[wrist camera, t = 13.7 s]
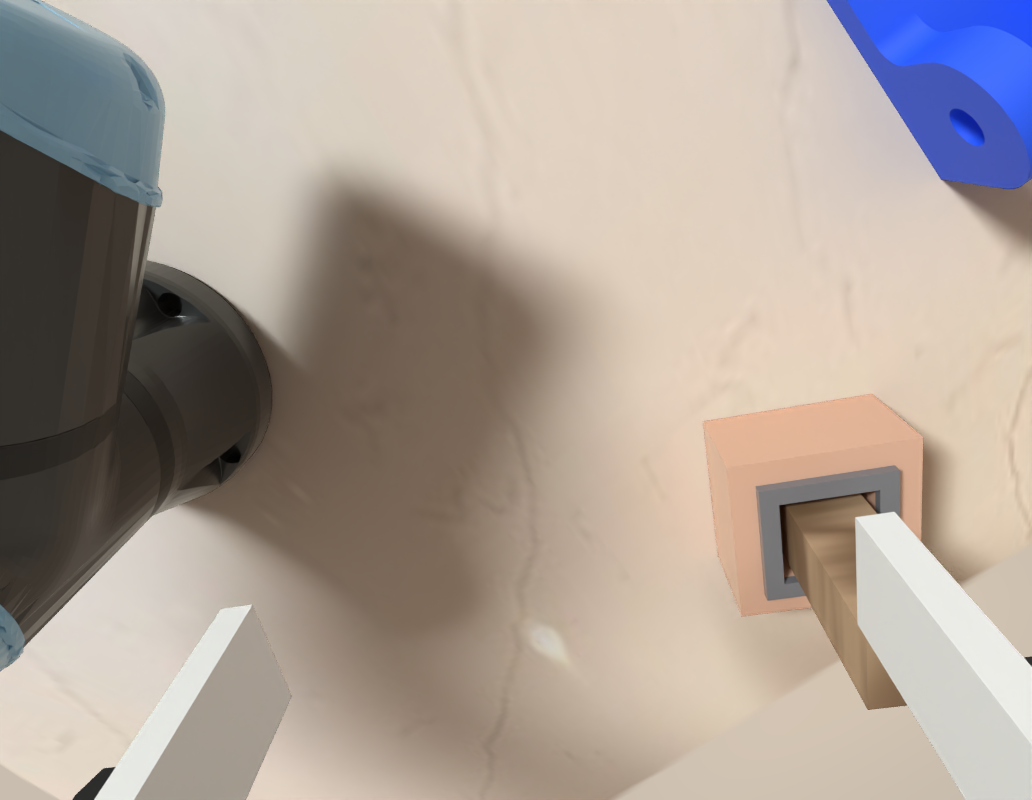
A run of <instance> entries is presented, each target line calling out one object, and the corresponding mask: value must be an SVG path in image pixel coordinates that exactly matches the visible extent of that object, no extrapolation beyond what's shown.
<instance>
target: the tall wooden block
mask: <svg viewBox="0 0 1032 800" xmlns="http://www.w3.org/2000/svg"><path fill="white" fill-rule="evenodd" d="M779 511H780V526H781V540H782V553H783V555H784V557H785V558H786V560H787V562H788V564H789V566H790V568H791V569H792V571H793V573H794V575H795V577H796V579H797V580H798V582H799V584H800V586H801V588H802V590H803V592H804V593H805V595H806V597H807V599H808V601H809V603H810V604H811V606H812V608H813V610H814V612H815V614H816V615H817V617H818V619H819V621H820V623H821V625H822V626H823V628H824V630H825V632H826V634H827V636H828V638H829V639H830V641H831V643H832V645H833V647H834V649H835V650H836V652H837V654H838V656H839V658H840V660H841V661H842V663H843V665H844V667H845V669H846V671H847V672H848V674H849V676H850V678H851V680H852V682H853V683H854V685H855V687H856V689H857V691H858V693H859V694H860V696H861V698H862V700H863V702H864V703H865V706H866V707H867V709H868V710H870V709H879V708H888V707H897V706H906V705H907V704H906V702H905V701H904V699H903V697H902V696H901V694H900V692H899V691H898V689H897V688H896V686H895V684H894V683H893V681H892V679H891V678H890V676H889V675H888V673H887V671H886V670H885V668H884V666H883V665H882V663H881V662H880V660H879V658H878V657H877V655H876V653H875V652H874V650H873V649H872V647H871V645H870V644H869V642H868V640H867V639H866V637H865V636H864V634H863V632H862V631H861V629H860V627H859V626H858V624H857V578H856V532H855V517H861V516H868V515H875V514H877V513H876V512H875V511H874V509H873V508H872V507H871V506H870V505H869V503H868V502H867V501H866V500H865V499H864V497H863V496H862V495H861V494H860V493H858V494H851V495H845V496H838V497H831V498H824V499H818V500H811V501H804V502H797V503H791V504H784V505H779Z"/></svg>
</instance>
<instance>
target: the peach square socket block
mask: <svg viewBox="0 0 1032 800" xmlns="http://www.w3.org/2000/svg"><path fill="white" fill-rule="evenodd" d="M703 426H704V435H705V444H706V453H707V462H708V471H709V480H710V489H711V498H712V507H713V516H714V525H715V534H716V543H717V552H718V557H719V560H720V563H721V565H722V568H723V570H724V573H725V575H726V578H727V580H728V583H729V586H730V588H731V591H732V593H733V596H734V598H735V601H736V603H737V606H738V609H739V611H740V614H741V616H742V617H743V616H750V615H758V614H766V613H773V612H781V611H789V610H796V609H804V608H811V607H812V606H811V604H810V603H809V601H808V599H807V597H806V595H805V593H804V592H803V590H802V588H801V586H800V584H799V582H798V580H797V579H796V577H795V575H794V573H793V571H792V569H791V568H790V566H789V564H788V562H787V560H786V558H785V557H784V555H783V553H782V540H781V526H780V511H779V505H784V504H791V503H797V502H804V501H811V500H818V499H824V498H831V497H838V496H845V495H851V494H858V493H860V494H861V495H862V496H863V497H864V499H865V500H866V501H867V502H868V503H869V505H870V506H871V507H872V508H873V509H874V511H875V512H876V513H877V514H882V513H889V512H895V513H896V514H897V515H898V516H899V517H900V519H901V520H902V521H903V522H904V523H905V524H906V525H907V526H908V528H909V529H910V530H911V531H912V532H913V533H914V534H915V536H916V537H917V538H918V539H919V540H920V541H921V521H922V471H923V437H922V436H921V435H920V434H919V433H918V432H916V431H915V430H914V429H913V428H912V427H911V426H909V425H908V424H907V423H906V422H905V421H903V420H902V419H901V418H900V417H899V416H897V415H896V414H895V413H894V412H893V411H892V410H890V409H889V408H888V407H887V406H886V405H884V404H883V403H882V402H881V401H880V400H879V399H877V398H876V397H875V396H874V395H873V394H869V395H863V396H857V397H851V398H845V399H839V400H833V401H826V402H820V403H814V404H808V405H802V406H796V407H790V408H784V409H778V410H772V411H765V412H759V413H753V414H747V415H741V416H735V417H729V418H723V419H717V420H711V421H704V422H703Z"/></svg>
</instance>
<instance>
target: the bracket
mask: <svg viewBox="0 0 1032 800" xmlns="http://www.w3.org/2000/svg"><path fill="white" fill-rule="evenodd" d="M827 2H828V3H829V5H830V6H831V8H832V9H833V11H834V13H835V14H836V16H837V17H838V19H839V20H840V22H841V24H842V25H843V27H844V28H845V30H846V31H847V33H848V34H849V36H850V38H851V39H852V41H853V42H854V44H855V45H856V47H857V49H858V50H859V52H860V53H861V55H862V56H863V58H864V60H865V61H866V63H867V64H868V66H869V67H870V69H871V71H872V72H873V74H874V75H875V77H876V78H877V80H878V81H879V83H880V85H881V86H882V88H883V89H884V91H885V92H886V94H887V96H888V97H889V99H890V100H891V102H892V103H893V105H894V107H895V108H896V110H897V111H898V113H899V114H900V116H901V117H902V119H903V121H904V122H905V124H906V125H907V127H908V128H909V130H910V132H911V133H912V135H913V136H914V138H915V139H916V141H917V143H918V144H919V146H920V147H921V149H922V150H923V152H924V153H925V155H926V157H927V158H928V160H929V161H930V163H931V164H932V166H933V168H934V169H935V171H936V172H937V174H938V175H939V177H940V179H942V180H949V181H955V182H962V183H969V184H976V185H983V186H989V187H996V188H1003V189H1015V188H1018V187H1020V186H1022V185H1023V184H1025V183H1026V182H1028V181H1029V180H1030V179H1032V0H827Z"/></svg>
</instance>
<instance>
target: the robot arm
mask: <svg viewBox="0 0 1032 800" xmlns="http://www.w3.org/2000/svg"><path fill="white" fill-rule="evenodd" d="M164 121H165V102H164V97H163V94H162V91H161V88H160V85H159V83H158V81H157V79H156V77H155V76H154V74H153V73H152V71H151V70H150V68H149V67H148V66H147V64H146V63H145V62H144V61H143V60H142V59H141V58H140V57H139V56H138V55H137V54H135V53H134V52H133V51H132V50H130V49H129V48H128V47H127V46H125V45H124V44H122V43H121V42H119V41H117V40H116V39H114V38H112V37H111V36H109V35H107V34H105V33H103V32H102V31H100V30H98V29H96V28H94V27H92V26H90V25H88V24H87V23H85V22H83V21H81V20H79V19H77V18H75V17H73V16H71V15H69V14H67V13H65V12H63V11H61V10H59V9H57V8H55V7H53V6H51V5H49V4H47V3H45V2H43V1H41V0H0V671H1V670H3V669H4V668H6V667H8V666H9V665H10V664H12V663H13V662H14V661H15V660H16V659H18V658H19V657H20V655H21V654H22V653H23V648H24V647H25V646H26V644H27V643H28V642H29V641H30V640H31V639H32V638H33V637H34V636H35V635H36V634H37V633H38V632H39V631H40V630H41V629H42V628H43V627H44V626H45V625H46V624H47V623H48V622H49V621H50V620H51V619H52V618H53V617H54V616H55V615H56V614H57V613H58V612H59V611H60V610H61V609H62V608H63V607H64V606H65V605H66V604H67V603H68V602H69V600H70V599H71V598H72V597H73V596H74V595H75V594H76V593H77V592H78V591H79V590H80V589H81V588H82V587H83V586H84V585H85V584H86V583H87V582H88V581H89V580H90V579H91V578H92V577H93V576H94V575H95V574H96V573H97V572H98V571H99V570H100V569H101V568H102V567H103V566H104V565H105V564H106V563H107V562H108V561H109V560H110V559H111V558H112V556H113V555H114V554H115V553H116V552H117V551H118V550H119V549H120V548H121V547H122V546H123V545H124V544H125V543H126V542H127V541H128V540H129V539H130V538H131V537H132V536H133V535H134V534H135V533H136V532H137V531H138V530H139V529H140V528H141V527H142V526H143V525H144V523H145V522H146V521H148V520H149V519H150V518H151V517H152V516H153V515H155V514H158V513H160V512H163V511H165V510H168V509H170V508H173V507H175V506H178V505H180V504H183V503H185V502H188V501H191V500H193V499H196V498H198V497H201V496H203V495H205V494H207V493H209V492H211V491H213V490H215V489H216V488H218V487H219V486H221V485H222V484H224V483H225V482H227V481H228V480H229V479H230V478H231V477H232V476H233V475H235V474H236V473H237V472H238V470H239V469H240V468H241V467H242V466H243V465H244V464H245V463H246V461H247V460H248V459H249V458H250V457H251V456H252V454H253V453H254V452H255V451H256V449H257V448H258V446H259V444H260V443H261V441H262V439H263V437H264V435H265V432H266V429H267V427H268V423H269V419H270V414H271V405H272V391H271V382H270V376H269V372H268V368H267V365H266V361H265V359H264V356H263V354H262V351H261V349H260V347H259V345H258V343H257V341H256V339H255V337H254V336H253V334H252V332H251V331H250V329H249V328H248V326H247V325H246V323H245V322H244V321H243V319H242V318H241V317H240V316H239V315H238V313H237V312H236V311H235V310H234V309H233V308H232V307H231V306H230V305H229V304H228V303H227V302H226V301H225V300H224V299H223V298H222V297H221V296H219V295H218V294H217V293H216V292H214V291H213V290H212V289H211V288H209V287H208V286H206V285H205V284H203V283H202V282H200V281H198V280H197V279H195V278H193V277H191V276H190V275H188V274H186V273H184V272H181V271H179V270H177V269H174V268H172V267H169V266H166V265H163V264H159V263H156V262H151V261H147V255H148V250H149V244H150V238H151V233H152V227H153V221H154V216H155V210H156V207H160V206H161V204H162V191H161V190H160V189H159V187H158V178H159V167H160V158H161V148H162V139H163V130H164ZM855 532H856V578H857V624H858V626H859V627H860V629H861V631H862V632H863V634H864V636H865V637H866V639H867V640H868V642H869V644H870V645H871V647H872V649H873V650H874V652H875V653H876V655H877V657H878V658H879V660H880V662H881V663H882V665H883V666H884V668H885V670H886V671H887V673H888V675H889V676H890V678H891V679H892V681H893V683H894V684H895V686H896V688H897V689H898V691H899V692H900V694H901V696H902V697H903V699H904V701H905V702H906V704H907V705H908V707H909V709H910V710H911V712H912V714H913V715H914V717H915V718H916V720H917V721H918V723H919V725H920V727H921V728H922V729H923V731H924V733H925V735H926V736H927V738H928V740H929V741H930V743H931V744H932V746H933V748H934V749H935V751H936V752H937V754H938V756H939V757H940V759H941V761H942V762H943V764H944V766H945V767H946V769H947V770H948V772H949V774H950V775H951V777H952V778H953V780H954V782H955V783H956V785H957V787H958V788H959V790H960V791H961V793H962V795H963V796H964V798H965V800H1032V657H1025V658H1024V657H1023V656H1022V655H1021V654H1020V653H1019V652H1018V651H1017V649H1016V648H1015V647H1014V646H1013V645H1012V644H1011V643H1010V642H1009V640H1008V639H1007V638H1006V637H1005V636H1004V635H1003V634H1002V633H1001V631H1000V630H999V629H998V628H997V627H996V626H995V625H994V624H993V623H992V621H991V620H990V619H989V618H988V617H987V616H986V615H985V613H983V611H982V610H981V609H980V608H979V607H978V605H977V604H976V603H975V602H974V601H973V600H972V599H971V598H970V596H969V595H968V594H967V593H966V592H965V591H964V590H963V589H962V587H961V586H960V585H959V584H958V583H957V582H956V581H955V580H954V578H953V577H952V576H951V575H950V574H949V573H948V572H947V570H946V569H945V568H944V567H943V566H942V565H941V564H940V563H939V561H938V560H937V559H936V558H935V557H934V556H933V555H932V554H931V552H930V551H929V550H928V549H927V548H926V547H925V546H924V545H923V543H922V542H921V541H920V540H919V539H918V538H917V537H916V536H915V534H914V533H913V532H912V531H911V530H910V529H909V528H908V526H907V525H906V524H905V523H904V522H903V521H902V520H901V519H900V517H899V516H898V515H897V514H896V513H895V512H889V513H882V514H875V515H868V516H861V517H855ZM291 697H292V696H291V693H290V691H289V689H288V686H287V684H286V682H285V679H284V677H283V675H282V672H281V670H280V668H279V665H278V663H277V660H276V658H275V656H274V653H273V651H272V649H271V646H270V644H269V642H268V639H267V637H266V635H265V632H264V630H263V628H262V625H261V623H260V620H259V618H258V616H257V613H256V611H255V609H254V606H253V604H252V605H245V606H238V607H231V608H224V609H221V610H220V611H219V613H218V614H217V616H216V617H215V619H214V620H213V622H212V623H211V625H210V626H209V628H208V629H207V631H206V632H205V634H204V635H203V637H202V638H201V640H200V641H199V643H198V644H197V646H196V647H195V649H194V650H193V652H192V653H191V655H190V656H189V658H188V659H187V661H186V662H185V664H184V665H183V667H182V668H181V670H180V671H179V673H178V674H177V676H176V677H175V679H174V680H173V682H172V683H171V685H170V686H169V688H168V689H167V691H166V692H165V694H164V695H163V697H162V698H161V700H160V701H159V703H158V704H157V706H156V707H155V709H154V710H153V712H152V713H151V715H150V716H149V718H148V719H147V721H146V722H145V724H144V725H143V727H142V728H141V730H140V731H139V733H138V734H137V736H136V737H135V739H134V740H133V742H132V743H131V745H130V746H129V748H128V749H127V751H126V753H125V754H124V756H123V757H122V759H121V760H120V762H119V763H118V765H117V766H116V767H112V768H104V769H102V770H101V771H100V772H99V773H98V774H97V775H96V776H95V777H94V778H93V779H92V780H91V781H90V782H89V783H88V784H87V785H86V786H85V787H83V788H82V789H81V790H80V791H79V792H78V793H77V794H76V795H75V797H74V798H73V800H246V798H247V796H248V794H249V792H250V789H251V787H252V785H253V783H254V780H255V778H256V776H257V773H258V771H259V769H260V767H261V764H262V762H263V760H264V758H265V755H266V753H267V751H268V749H269V746H270V744H271V742H272V740H273V737H274V735H275V733H276V731H277V728H278V726H279V724H280V722H281V719H282V717H283V715H284V713H285V710H286V708H287V706H288V703H289V701H290V699H291Z"/></svg>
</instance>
